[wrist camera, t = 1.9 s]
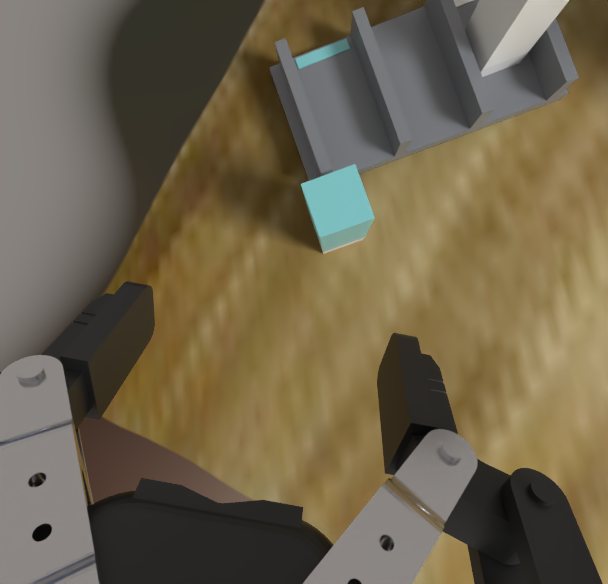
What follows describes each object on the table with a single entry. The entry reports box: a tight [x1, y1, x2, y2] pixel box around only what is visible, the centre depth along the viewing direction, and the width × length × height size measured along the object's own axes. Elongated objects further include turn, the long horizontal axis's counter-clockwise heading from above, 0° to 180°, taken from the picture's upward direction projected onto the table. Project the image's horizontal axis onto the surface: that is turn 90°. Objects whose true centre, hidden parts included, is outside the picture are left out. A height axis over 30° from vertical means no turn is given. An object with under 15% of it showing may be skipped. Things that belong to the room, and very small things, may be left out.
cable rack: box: [269, 0, 579, 181], centre depth 35 cm, size 24×12×4 cm, turn 109°
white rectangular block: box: [465, 0, 569, 77], centre depth 30 cm, size 4×4×10 cm
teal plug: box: [301, 164, 374, 254], centre depth 32 cm, size 4×4×10 cm
